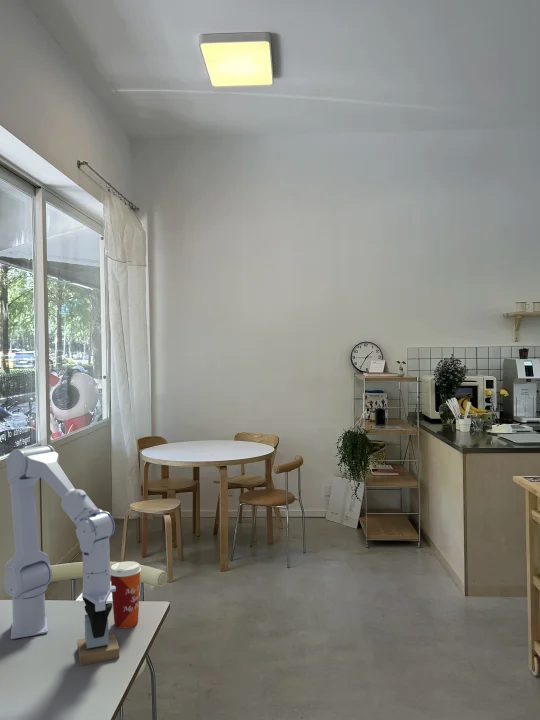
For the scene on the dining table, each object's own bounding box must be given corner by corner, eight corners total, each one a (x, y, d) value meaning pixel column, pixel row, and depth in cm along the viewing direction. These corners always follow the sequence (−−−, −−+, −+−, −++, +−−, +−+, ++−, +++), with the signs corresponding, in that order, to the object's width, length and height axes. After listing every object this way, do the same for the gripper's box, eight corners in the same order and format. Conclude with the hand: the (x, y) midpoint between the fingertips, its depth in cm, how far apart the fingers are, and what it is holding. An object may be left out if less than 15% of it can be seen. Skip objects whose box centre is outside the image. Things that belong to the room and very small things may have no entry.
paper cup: (134, 631, 139) (133, 571, 139) (104, 629, 140) (103, 570, 140) (147, 617, 146) (146, 560, 147) (119, 615, 148) (118, 559, 148)
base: (77, 648, 130) (77, 639, 131) (114, 641, 134) (114, 632, 134) (80, 665, 123) (80, 655, 123) (119, 657, 126) (119, 648, 126)
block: (85, 639, 129) (84, 614, 130) (106, 635, 131) (105, 611, 131) (86, 648, 125) (86, 622, 125) (108, 644, 127) (108, 618, 127)
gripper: (119, 577, 123) (120, 642, 123) (111, 557, 137) (112, 615, 137) (84, 582, 121) (85, 649, 120) (79, 561, 134) (80, 621, 134)
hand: (97, 632), depth 128 cm, fingers closed on block, 4 cm apart
